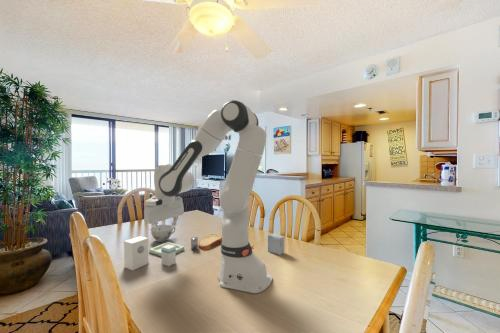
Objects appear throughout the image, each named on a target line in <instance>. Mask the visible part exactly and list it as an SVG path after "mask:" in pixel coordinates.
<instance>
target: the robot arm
mask: <svg viewBox="0 0 500 333" xmlns="http://www.w3.org/2000/svg"><path fill="white" fill-rule="evenodd" d="M221 107H222V108H221V109H215V110H213V111H212V112H211V113H210V114H209V115H208V116H207V117H206V119H205V120H204V121H203V123H202V124H201V125H200V127H199V129H198V131H197V132H196V133H195V135H194V136H193V138H192V139H191V140H190V142H189V143H188V145H187V146H186V147H185V148H184V149H183V151H182V152H181V154H180V155H179V156H178V158H176V160H175V162H174V163H173V164H172V163H165V164H160V165H157V166H156V167H155V169H154V171H153V172H154V174H153V178H154V179H153V183H154V184H153V185H154V187H155V190H154V195H153V196H151V197H150V198H148V199H146V200H144V205H145V207H144V210H143V219H144V220H143V221H144V222H145V223H146V224H149V225H151V224H152V227H155V231H156V232H158V231H160V227H158V225H159V222H161V221H165V220H166V221H167V220H168V219H173V220H172V222H171V226H173V227H176V226H177V222H178V220H179V216H182V215H184V213H185V209H184V208H185V207H184V202H183V198H182V197H181V196H179V195H178V194H182V193H184V192H188V191H190V190H192V188H193V187H194V185H195V177H194V175H193V174H192V172H189V171H190V169H191V168H192V166H193V165H194V164H195V163H196V161H198V160H199V159H201V158H203V157H205V156H207V155H210V154H213V153H214V152H215V150H217V148H218V147H219V146H220V145H221V143H222V142H223V140H224V138H225V137H226V135H227V134H229V133H230V132H231V131H233V132H234V133H236V134H237V133H238V134H239V135H238V136H239V139H238V142H237V147H236V148H235V149H236V150H235V152H234V155H233V159H232V162H231V165H230V167H229V171H228V173H227V176H226V178H225V181H224V184H223V186H222V189H221V192H220V195H219V204H220V205H219V206H220V207H221V209H222V210H223V211H222V212H223V213H222V222H221V236H222V242H221V243H220V253H221V259H220V260H221V262H220V267H219V268H220V269H219V273H218V276H217V277H218V278H217V279H218V280H219V286H220V287H222V288H226V289H231V290H236V291H240V292H241V291H242V292H245V293H250V294H259V293H261V292H263V291H265V290H266V289H267V288H268V287H269V286H270V285H271V283H272V282H273V277H272V275H271V274H269V273H267V266H266V264H265V263H264V262H263V261H262V260H261V259H260V258H259V257H258V256H257V254H255V253H254V252H253V249H255V245H252V246H251V243H250V242H249V241H250V240H249V230H250V229H249V228H250V226H249V225H250V224H249V223H250V222H249V220H250V218H249V217H250V196H251V193H252V190H253V188H254V187H253V186H254V183H255V179H256V177H257V174H258V172H259V167H260V164H261V161H262V158H263V156H264V151H265V146H266V141H267V132H266V130H265V129H264V128H262V127H261V126H259V119H258V116H257V115H256V114H255V112H253V111H252V109H251V108H250V107H248V106H247V105H245V104H244V103H243V102H241V101H239V100H234V99H233V100H229V101H226V103H224V104H223V106H221ZM177 195H178V196H177Z"/></svg>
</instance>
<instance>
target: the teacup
mask: <svg viewBox="0 0 500 333" xmlns="http://www.w3.org/2000/svg"><path fill="white" fill-rule="evenodd" d="M157 225H158V227H160V231H158V232H156V231H155V227H154V226H152V227H151V228H150V232H151V235H152V237H153V239H154V240H155V241H156V242H159V243H163V242H166V241H167V240H169V238H171V236H172V235H173V234H174V233H175V232H176V226H172V224H157Z"/></svg>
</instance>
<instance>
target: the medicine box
mask: <svg viewBox="0 0 500 333" xmlns="http://www.w3.org/2000/svg"><path fill="white" fill-rule="evenodd" d="M267 252H270V253H273V254H275V255H278V256H280V255H283V254H284V253H285V236H282V235H279V234H275V233H271V234H268V235H267Z"/></svg>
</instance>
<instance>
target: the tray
mask: <svg viewBox="0 0 500 333" xmlns="http://www.w3.org/2000/svg"><path fill="white" fill-rule="evenodd" d="M168 244H169V245H173V246H176V254H177V255H178V254H179V253H182V252H183V251H185V246H184V245H180V244H177V243H173V242H169V241H167V242H165V243H162V244H159V245H157V246H154V247H151V248H148V254H151V255H155V256H157V257H161V258H162V255H161V247H163V246H165V245H168Z"/></svg>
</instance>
